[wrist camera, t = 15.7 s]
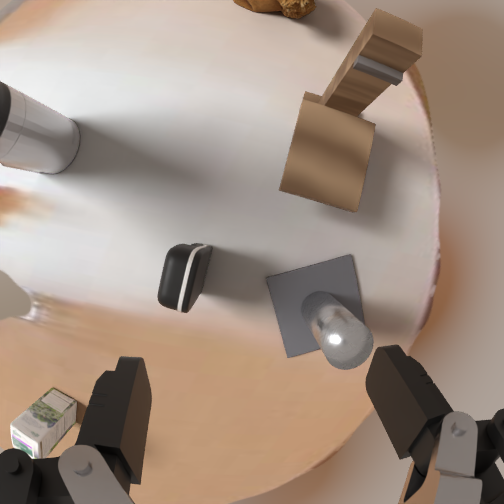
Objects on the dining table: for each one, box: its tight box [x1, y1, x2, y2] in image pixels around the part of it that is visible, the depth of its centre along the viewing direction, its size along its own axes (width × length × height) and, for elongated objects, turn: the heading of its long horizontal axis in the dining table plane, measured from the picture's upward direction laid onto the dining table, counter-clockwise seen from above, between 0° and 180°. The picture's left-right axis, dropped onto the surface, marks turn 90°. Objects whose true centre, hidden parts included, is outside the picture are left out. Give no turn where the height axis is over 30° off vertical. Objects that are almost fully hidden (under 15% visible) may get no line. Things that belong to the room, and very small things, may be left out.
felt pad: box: [266, 254, 365, 358], centre depth 43 cm, size 12×12×1 cm
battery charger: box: [158, 243, 212, 313], centre depth 37 cm, size 7×4×11 cm, turn 165°
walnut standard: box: [279, 8, 423, 212], centre depth 29 cm, size 16×9×24 cm, turn 165°
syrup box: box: [11, 388, 77, 459], centre depth 37 cm, size 6×6×14 cm
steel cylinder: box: [301, 291, 373, 370], centre depth 35 cm, size 5×5×14 cm
